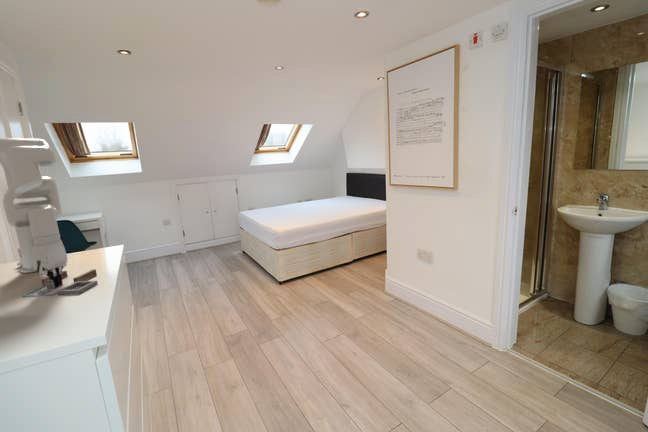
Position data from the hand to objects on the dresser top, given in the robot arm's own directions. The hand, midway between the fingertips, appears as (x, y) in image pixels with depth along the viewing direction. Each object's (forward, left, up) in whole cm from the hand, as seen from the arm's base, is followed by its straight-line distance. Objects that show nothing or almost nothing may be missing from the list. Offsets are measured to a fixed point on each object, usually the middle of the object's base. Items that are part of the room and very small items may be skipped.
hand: (57, 284), depth 117 cm
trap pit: (+11, -4, -1) cm, 12 cm away
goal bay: (0, -4, -1) cm, 4 cm away
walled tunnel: (0, +7, -1) cm, 7 cm away
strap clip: (0, -3, -1) cm, 3 cm away
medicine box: (-42, +35, -1) cm, 54 cm away
